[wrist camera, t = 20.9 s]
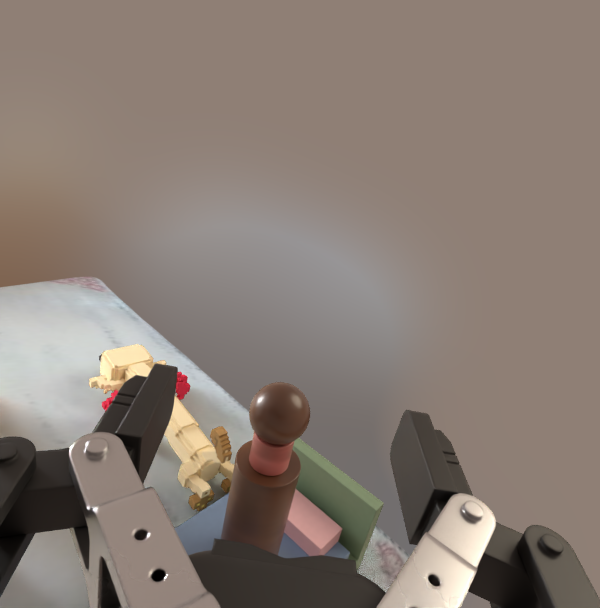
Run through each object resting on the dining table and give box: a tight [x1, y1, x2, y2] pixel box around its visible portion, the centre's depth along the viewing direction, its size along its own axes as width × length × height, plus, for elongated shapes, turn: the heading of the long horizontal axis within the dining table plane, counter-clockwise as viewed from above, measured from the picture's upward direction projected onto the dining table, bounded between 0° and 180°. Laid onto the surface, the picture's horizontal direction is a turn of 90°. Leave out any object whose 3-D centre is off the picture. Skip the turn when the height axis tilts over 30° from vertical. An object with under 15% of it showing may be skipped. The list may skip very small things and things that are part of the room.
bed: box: [175, 438, 383, 569], centre depth 35 cm, size 12×18×8 cm, turn 139°
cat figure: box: [89, 344, 234, 511], centre depth 50 cm, size 10×9×25 cm
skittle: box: [221, 382, 310, 555], centre depth 32 cm, size 5×5×16 cm
